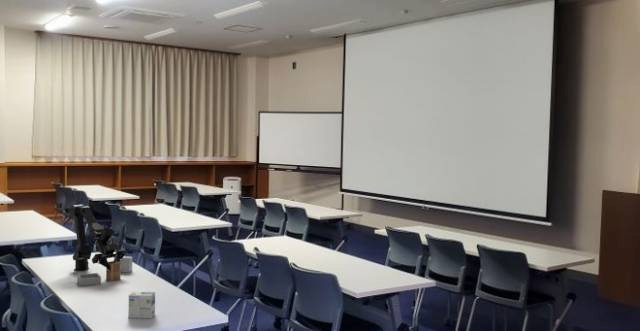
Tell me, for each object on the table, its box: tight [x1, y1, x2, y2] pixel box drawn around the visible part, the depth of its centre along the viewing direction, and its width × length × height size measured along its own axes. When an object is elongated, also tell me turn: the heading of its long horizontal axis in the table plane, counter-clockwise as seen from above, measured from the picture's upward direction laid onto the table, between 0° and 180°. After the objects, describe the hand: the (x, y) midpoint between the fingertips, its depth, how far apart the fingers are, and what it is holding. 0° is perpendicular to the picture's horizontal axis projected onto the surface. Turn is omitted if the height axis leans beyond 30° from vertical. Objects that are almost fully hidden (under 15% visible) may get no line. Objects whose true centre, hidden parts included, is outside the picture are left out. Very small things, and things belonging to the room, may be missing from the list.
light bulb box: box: [127, 291, 156, 319], centre depth 260 cm, size 11×7×11 cm, turn 92°
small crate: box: [105, 260, 121, 282], centre depth 322 cm, size 6×6×10 cm
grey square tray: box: [77, 272, 102, 287], centre depth 313 cm, size 11×11×4 cm
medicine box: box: [120, 255, 133, 273], centre depth 342 cm, size 8×4×9 cm, turn 84°
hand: (114, 268), depth 321 cm, fingers closed on small crate, 5 cm apart
